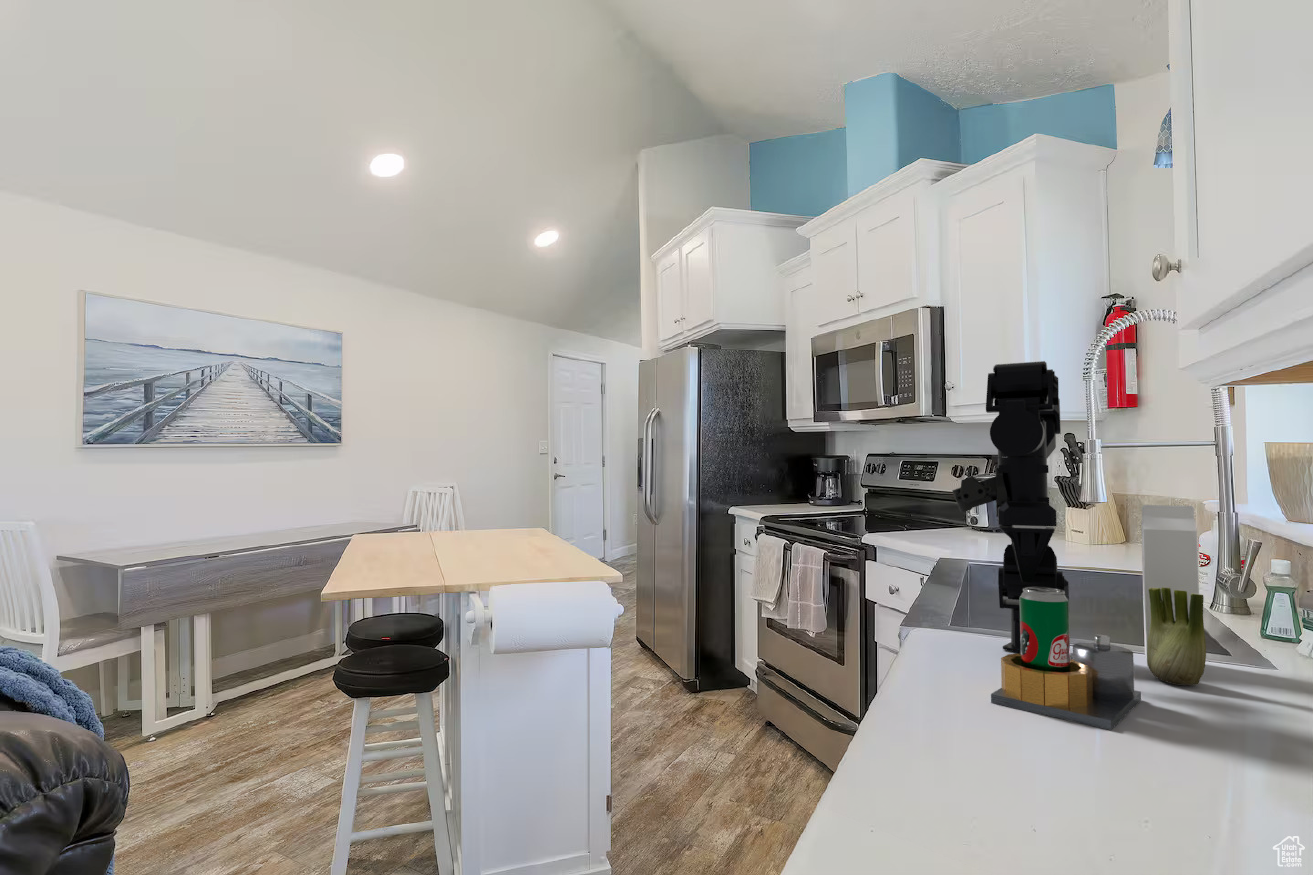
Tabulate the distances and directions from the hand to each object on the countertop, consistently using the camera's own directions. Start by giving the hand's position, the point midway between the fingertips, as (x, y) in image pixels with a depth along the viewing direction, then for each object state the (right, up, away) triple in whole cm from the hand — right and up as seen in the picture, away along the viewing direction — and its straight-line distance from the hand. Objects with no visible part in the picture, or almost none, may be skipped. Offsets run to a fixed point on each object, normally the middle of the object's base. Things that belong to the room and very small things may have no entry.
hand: (1024, 576), depth 92 cm
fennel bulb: (+18, -13, -3) cm, 22 cm away
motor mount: (0, -13, -10) cm, 16 cm away
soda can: (-3, -12, -10) cm, 16 cm away
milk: (+23, -14, +6) cm, 28 cm away
